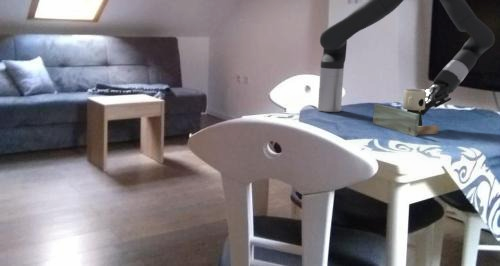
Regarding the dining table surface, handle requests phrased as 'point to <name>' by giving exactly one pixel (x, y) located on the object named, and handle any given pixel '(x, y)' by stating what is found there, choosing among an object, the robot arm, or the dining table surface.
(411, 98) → the character mug
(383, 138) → the dining table surface
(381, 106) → the oak dock
